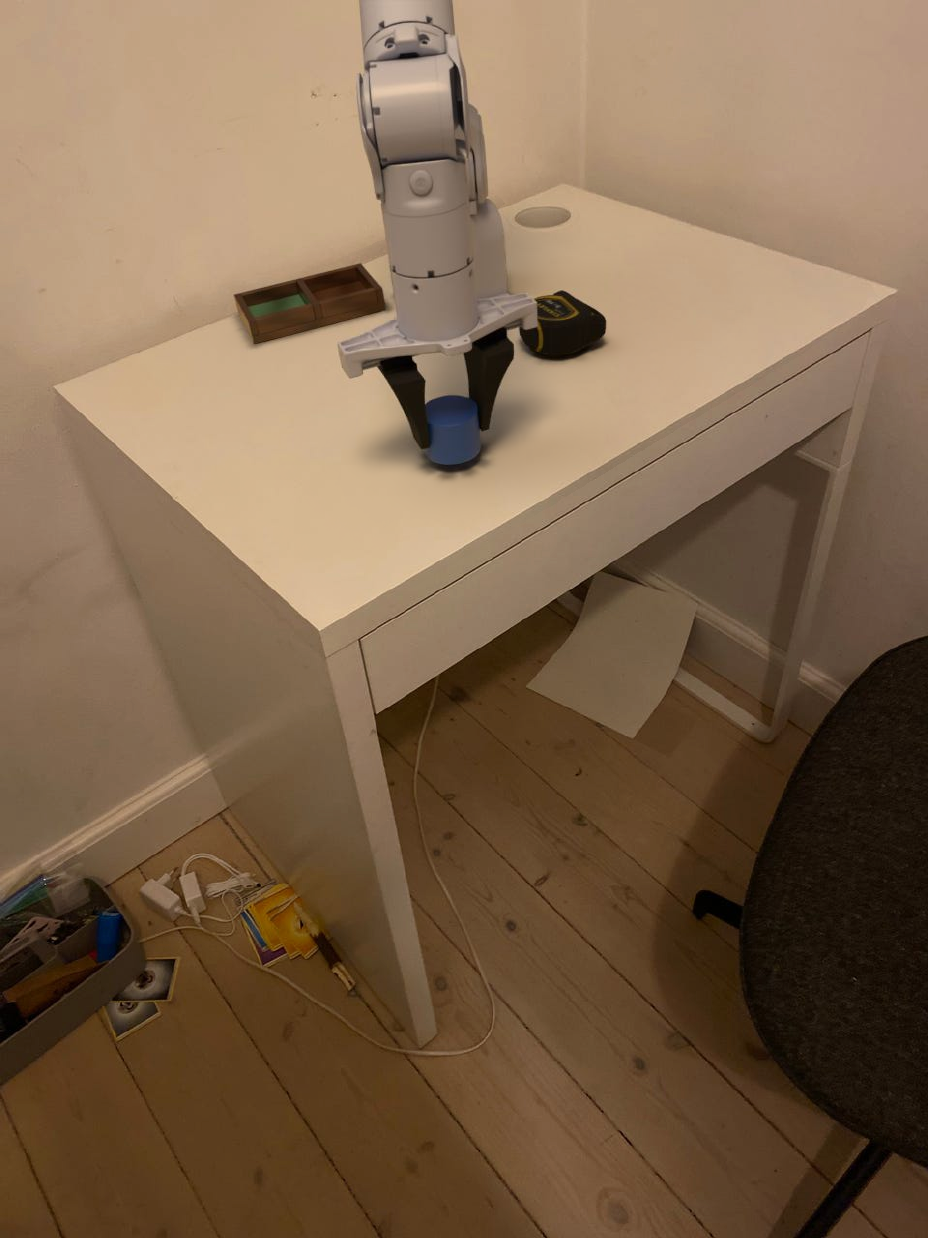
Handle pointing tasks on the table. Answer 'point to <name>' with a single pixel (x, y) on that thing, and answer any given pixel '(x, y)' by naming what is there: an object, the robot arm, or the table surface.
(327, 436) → the table surface
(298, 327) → the holder
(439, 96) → the robot arm
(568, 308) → the tape measure
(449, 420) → the cylinder
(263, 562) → the table surface
